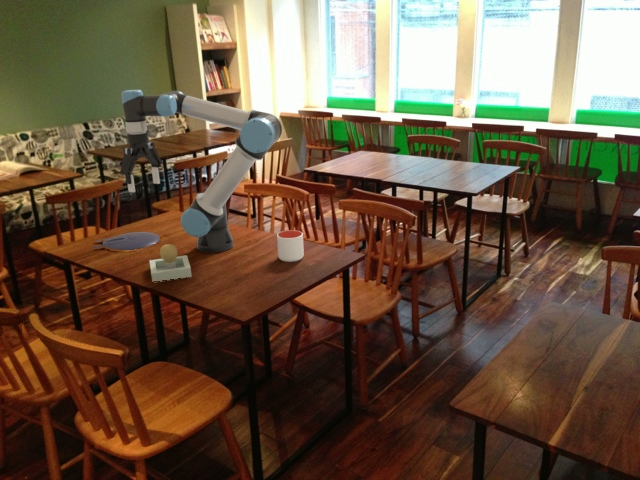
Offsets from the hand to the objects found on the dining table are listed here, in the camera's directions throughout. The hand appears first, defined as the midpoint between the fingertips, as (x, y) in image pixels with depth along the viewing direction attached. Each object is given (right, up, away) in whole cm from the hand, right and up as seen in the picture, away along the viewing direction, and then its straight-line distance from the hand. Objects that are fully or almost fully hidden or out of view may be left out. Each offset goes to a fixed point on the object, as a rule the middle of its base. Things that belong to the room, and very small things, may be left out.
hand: (144, 187), depth 227 cm
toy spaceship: (-15, -22, +27) cm, 38 cm away
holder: (+12, -33, -7) cm, 35 cm away
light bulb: (+12, -32, -7) cm, 34 cm away
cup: (+56, -28, +3) cm, 63 cm away
